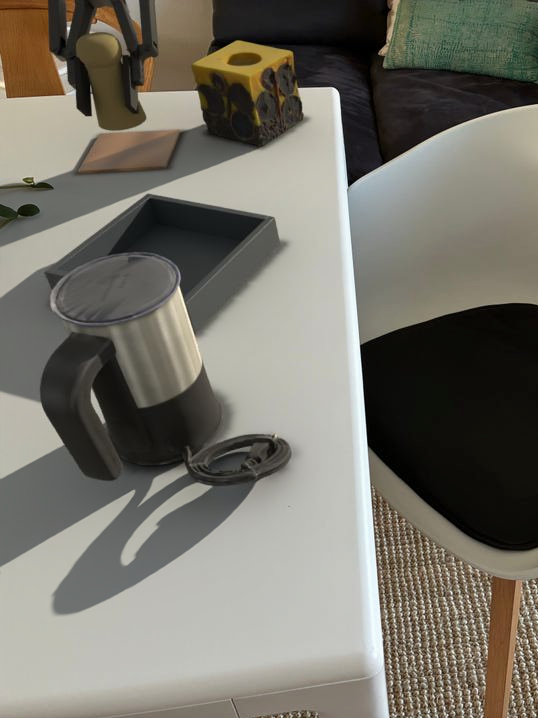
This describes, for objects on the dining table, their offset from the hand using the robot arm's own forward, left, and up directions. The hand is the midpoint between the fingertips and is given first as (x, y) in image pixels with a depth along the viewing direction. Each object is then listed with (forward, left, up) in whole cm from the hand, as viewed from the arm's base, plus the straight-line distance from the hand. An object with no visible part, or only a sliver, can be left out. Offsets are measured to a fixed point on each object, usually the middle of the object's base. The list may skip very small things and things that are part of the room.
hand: (108, 110), depth 98 cm
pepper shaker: (0, +4, -3) cm, 5 cm away
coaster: (0, +4, -7) cm, 8 cm away
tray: (+11, -26, -7) cm, 29 cm away
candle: (+16, +10, -8) cm, 20 cm away
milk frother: (+18, -52, -8) cm, 56 cm away
